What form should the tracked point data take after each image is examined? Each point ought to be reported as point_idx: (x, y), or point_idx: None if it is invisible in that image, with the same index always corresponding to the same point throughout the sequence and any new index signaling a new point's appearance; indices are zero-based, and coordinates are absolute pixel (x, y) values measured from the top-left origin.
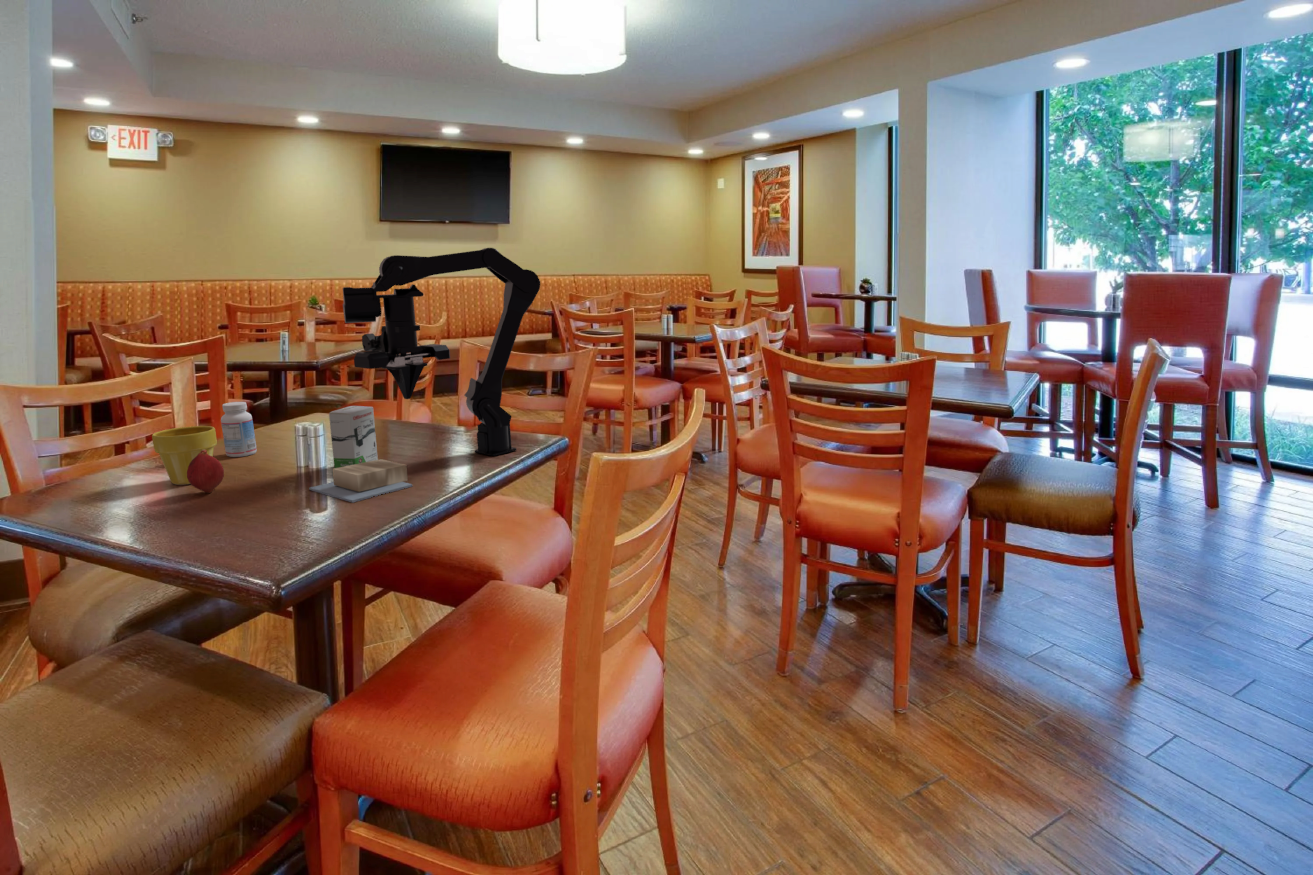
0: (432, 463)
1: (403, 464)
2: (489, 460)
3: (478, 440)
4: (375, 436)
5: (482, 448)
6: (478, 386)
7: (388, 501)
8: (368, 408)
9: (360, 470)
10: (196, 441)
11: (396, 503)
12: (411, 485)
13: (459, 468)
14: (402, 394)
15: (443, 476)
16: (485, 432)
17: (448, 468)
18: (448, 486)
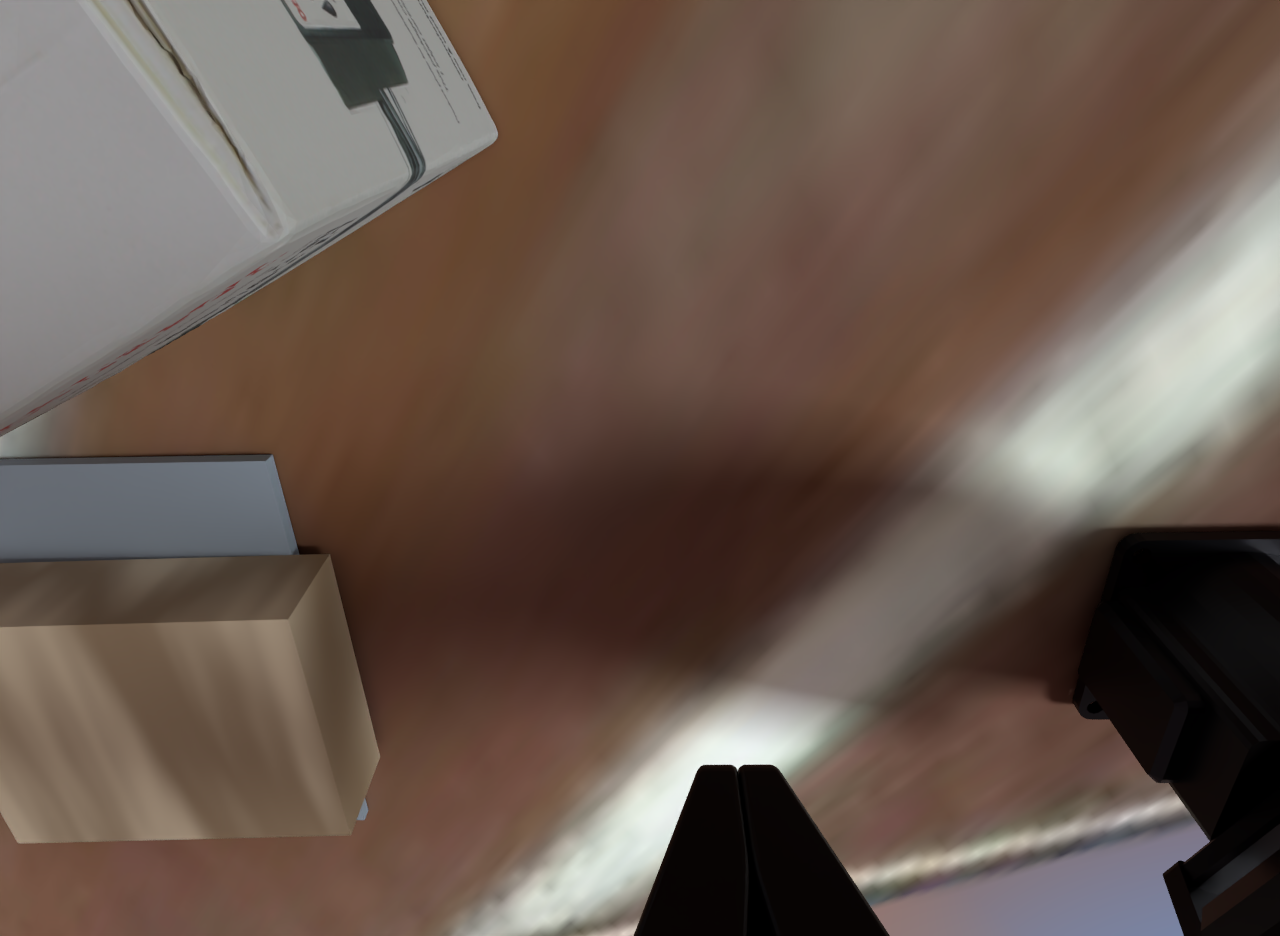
0: (738, 530)
1: (339, 820)
2: (981, 736)
3: (1135, 675)
4: (436, 169)
5: (1096, 666)
6: None
7: (184, 890)
8: (157, 319)
9: (61, 776)
10: None
11: (202, 926)
12: (361, 814)
13: (746, 738)
14: (675, 830)
15: (581, 788)
16: (1183, 776)
17: (709, 695)
18: (491, 909)
